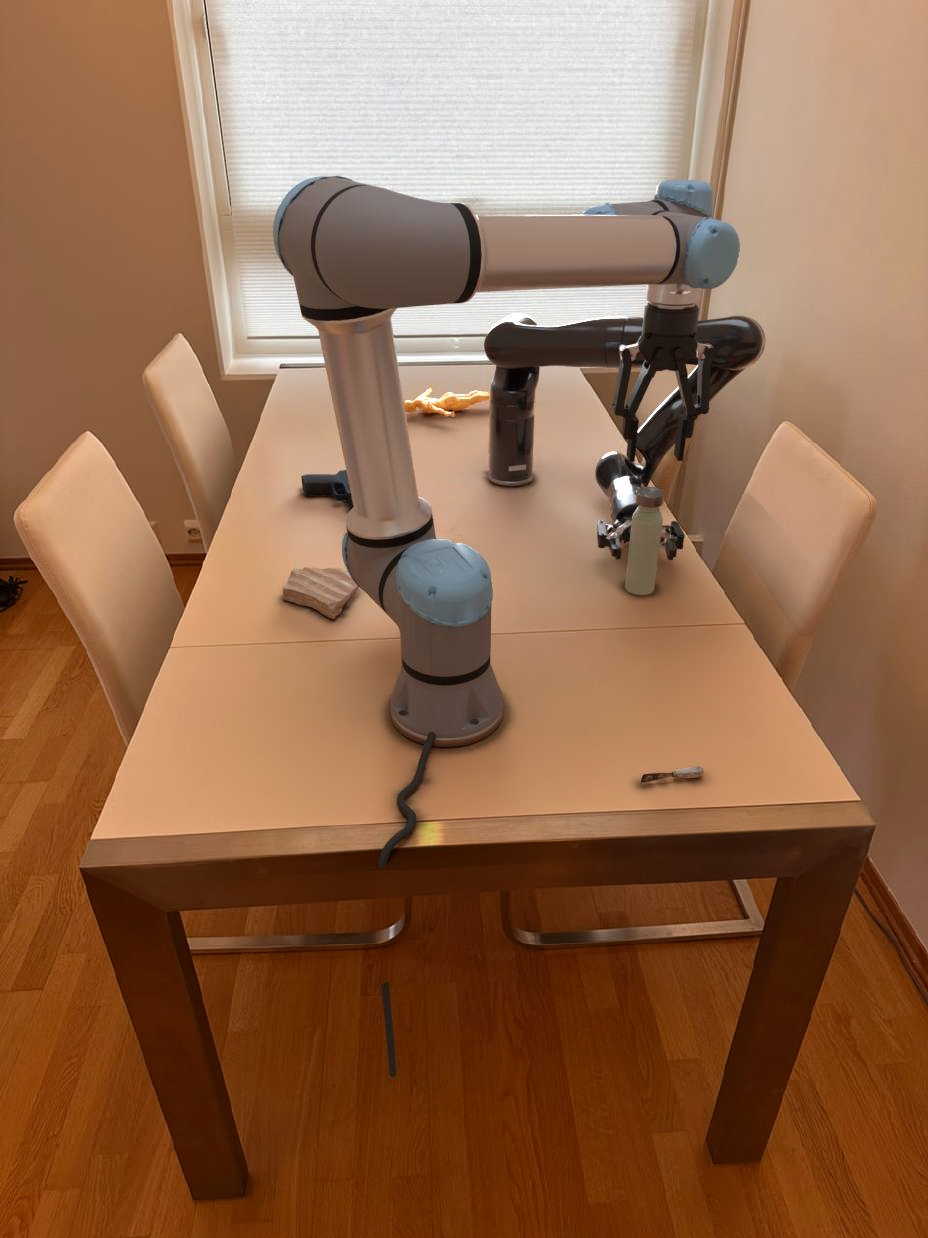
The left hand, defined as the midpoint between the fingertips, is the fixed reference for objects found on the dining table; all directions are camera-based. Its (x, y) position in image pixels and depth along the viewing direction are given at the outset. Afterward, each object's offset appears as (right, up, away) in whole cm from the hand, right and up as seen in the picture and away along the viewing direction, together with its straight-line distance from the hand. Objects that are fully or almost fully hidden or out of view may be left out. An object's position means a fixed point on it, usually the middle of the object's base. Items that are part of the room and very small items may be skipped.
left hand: (654, 457), depth 137 cm
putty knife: (-4, -45, -28) cm, 53 cm away
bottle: (0, -20, +12) cm, 23 cm away
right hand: (0, -14, +8) cm, 17 cm away
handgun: (-55, -1, +42) cm, 69 cm away
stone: (-53, -22, +10) cm, 58 cm away
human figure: (-33, +28, +89) cm, 99 cm away
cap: (0, -5, +3) cm, 6 cm away
